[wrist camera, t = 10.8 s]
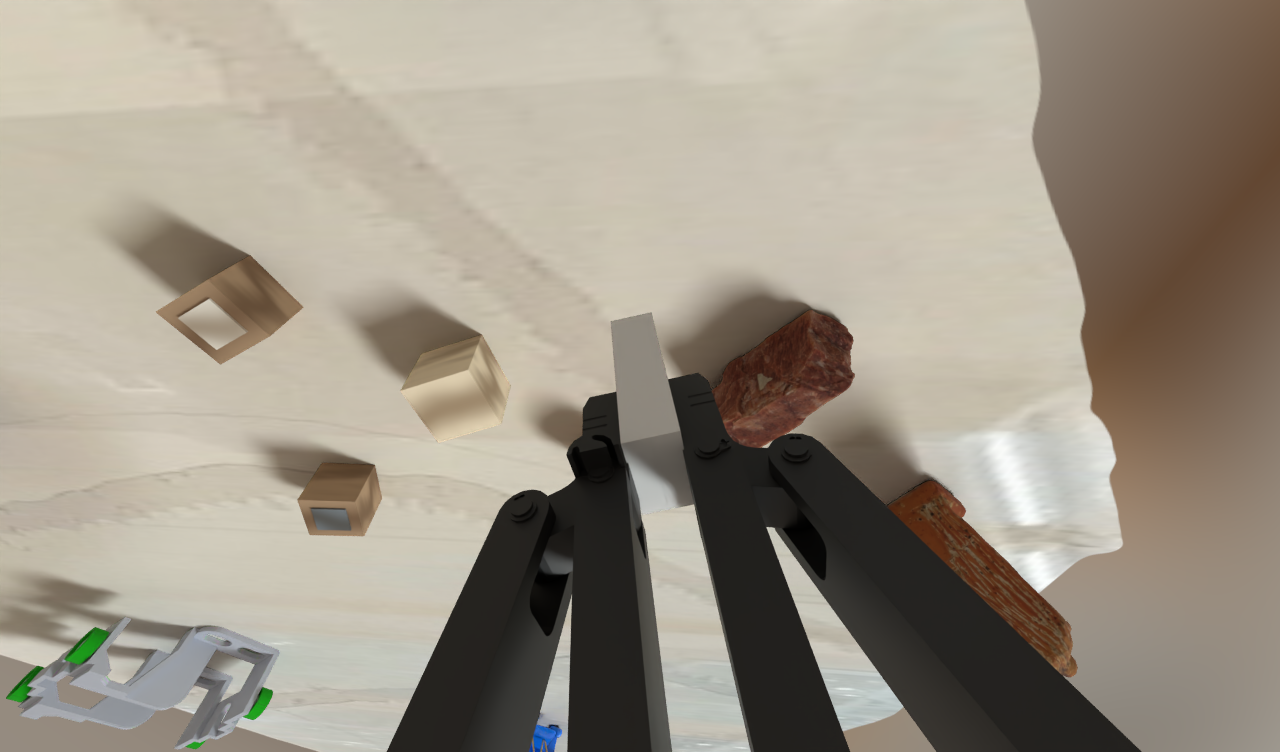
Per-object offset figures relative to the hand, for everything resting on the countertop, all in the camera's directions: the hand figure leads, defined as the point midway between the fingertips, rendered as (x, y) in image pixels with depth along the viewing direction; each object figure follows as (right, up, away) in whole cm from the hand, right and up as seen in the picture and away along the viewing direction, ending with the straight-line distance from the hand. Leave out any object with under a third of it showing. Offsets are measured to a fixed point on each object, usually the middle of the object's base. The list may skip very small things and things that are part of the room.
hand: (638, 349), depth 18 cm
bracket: (-73, -44, +59) cm, 103 cm away
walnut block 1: (-37, +7, +28) cm, 47 cm away
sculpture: (+42, -21, +55) cm, 72 cm away
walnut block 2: (-36, -14, +42) cm, 58 cm away
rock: (+15, +1, +38) cm, 41 cm away
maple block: (-19, 0, +35) cm, 40 cm away
